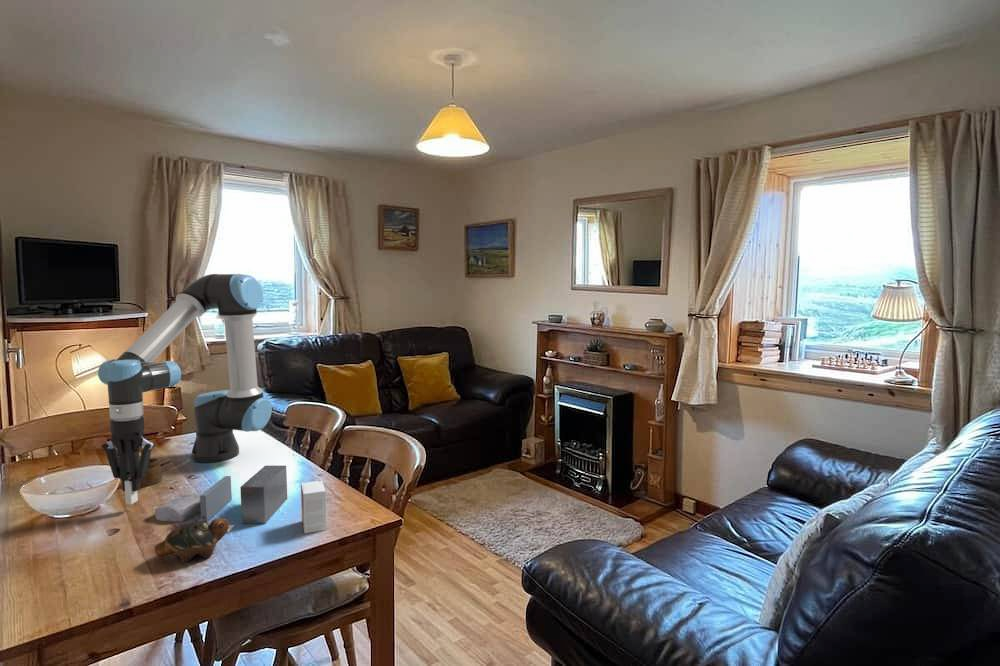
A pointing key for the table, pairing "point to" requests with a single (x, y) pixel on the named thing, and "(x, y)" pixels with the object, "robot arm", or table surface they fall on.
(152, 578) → the table surface
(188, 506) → the stone block
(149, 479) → the utensil holder
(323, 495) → the small box
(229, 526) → the pale flat strip
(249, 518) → the dark gray block
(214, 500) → the gauge plate
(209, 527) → the decorative turtle
